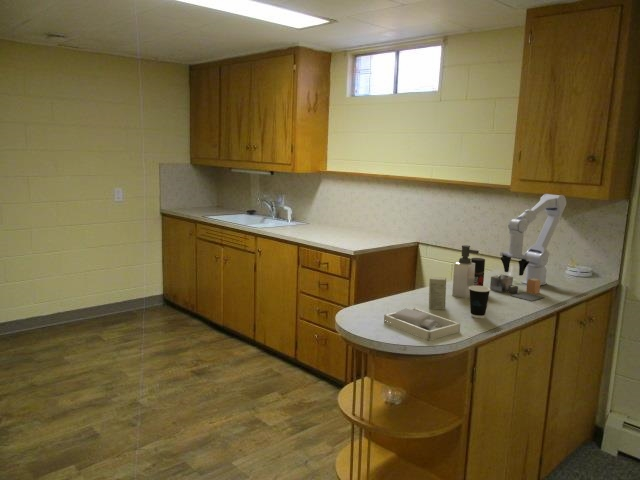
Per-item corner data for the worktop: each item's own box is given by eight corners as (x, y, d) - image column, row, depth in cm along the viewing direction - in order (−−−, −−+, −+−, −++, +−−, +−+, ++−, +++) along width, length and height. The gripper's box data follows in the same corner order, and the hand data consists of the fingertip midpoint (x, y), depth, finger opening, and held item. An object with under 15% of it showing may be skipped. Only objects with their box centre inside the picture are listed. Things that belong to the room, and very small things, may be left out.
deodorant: (481, 290, 237) (483, 257, 234) (483, 293, 231) (486, 260, 228) (467, 289, 237) (470, 257, 235) (470, 293, 231) (472, 260, 229)
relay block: (531, 291, 237) (532, 277, 236) (539, 293, 234) (540, 279, 233) (526, 292, 235) (527, 279, 234) (534, 294, 232) (535, 280, 231)
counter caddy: (414, 315, 198) (414, 307, 198) (459, 331, 181) (460, 323, 180) (383, 322, 189) (384, 314, 188) (429, 340, 172) (429, 332, 171)
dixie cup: (471, 319, 195) (473, 291, 193) (463, 313, 202) (465, 285, 201) (491, 319, 195) (494, 290, 194) (483, 312, 203) (485, 285, 201)
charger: (431, 335, 177) (393, 325, 187) (443, 329, 184) (406, 319, 194) (432, 322, 176) (394, 313, 186) (444, 316, 183) (407, 307, 193)
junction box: (500, 286, 244) (501, 272, 243) (513, 289, 238) (514, 275, 237) (488, 289, 239) (489, 275, 238) (501, 292, 233) (502, 278, 232)
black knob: (511, 291, 236) (512, 284, 236) (519, 293, 233) (520, 286, 233) (506, 292, 234) (506, 285, 234) (514, 294, 231) (514, 287, 230)
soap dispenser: (470, 299, 221) (474, 248, 218) (452, 295, 227) (455, 245, 224) (478, 296, 226) (481, 246, 222) (459, 292, 232) (462, 244, 228)
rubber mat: (523, 292, 234) (523, 291, 234) (544, 298, 226) (544, 297, 226) (510, 296, 228) (510, 295, 228) (531, 301, 220) (531, 300, 220)
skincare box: (445, 307, 210) (447, 277, 208) (444, 310, 206) (446, 280, 204) (429, 305, 212) (430, 276, 210) (427, 308, 208) (429, 278, 206)
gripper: (497, 243, 244) (495, 271, 246) (525, 248, 232) (522, 277, 235) (506, 241, 248) (504, 269, 250) (534, 246, 236) (531, 275, 239)
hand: (513, 273), depth 243 cm, fingers open, 7 cm apart
